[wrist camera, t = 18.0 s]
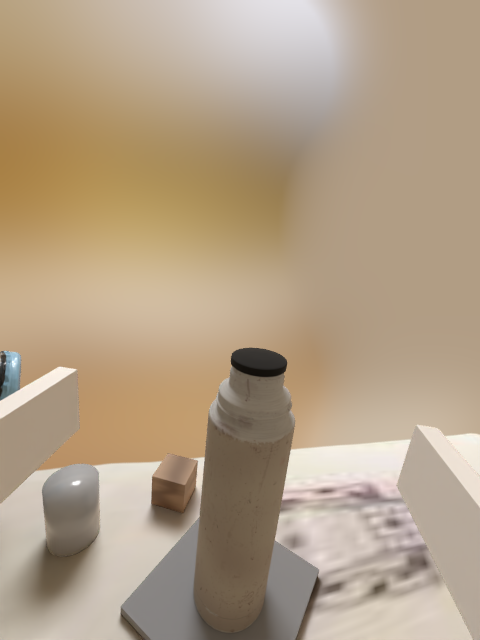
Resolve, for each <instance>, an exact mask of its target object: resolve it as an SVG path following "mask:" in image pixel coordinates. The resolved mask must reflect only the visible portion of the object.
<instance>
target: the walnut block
mask: <svg viewBox="0 0 480 640" xmlns="http://www.w3.org/2000/svg"><path fill="white" fill-rule="evenodd" d="M197 463H198V461H197V460H193V459H189V458H185V457H181V456H177V455H173V454H169V453H168V454H167V455H166V457H165V458H164V460H163V461H162V463H161V464H160V466H159V467H158V469H157V470H156V472H155V473H154V474H153V476H152V500H151V504H154V505H157V506H160V507H164V508H167V509H171V510H174V511H177V512H181V513H183V512H184V510H185V508H186V506H187V504H188V502H189V499H190V497H191V495H192V493H193V491H194V489H195V487H196V475H197Z"/></svg>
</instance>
